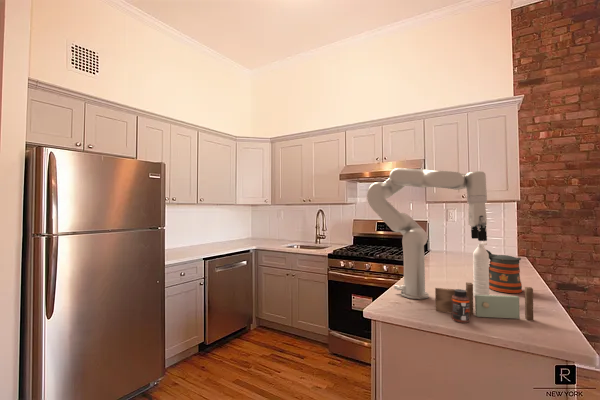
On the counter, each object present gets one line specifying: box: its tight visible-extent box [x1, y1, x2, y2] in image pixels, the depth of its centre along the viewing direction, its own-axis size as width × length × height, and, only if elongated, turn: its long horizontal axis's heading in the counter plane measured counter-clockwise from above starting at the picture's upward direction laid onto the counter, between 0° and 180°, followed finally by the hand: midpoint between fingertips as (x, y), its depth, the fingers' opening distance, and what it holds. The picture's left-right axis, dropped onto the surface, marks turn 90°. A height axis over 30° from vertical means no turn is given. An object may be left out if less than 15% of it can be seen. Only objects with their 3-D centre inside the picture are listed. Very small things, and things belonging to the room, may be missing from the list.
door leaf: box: [474, 294, 521, 319], centre depth 120 cm, size 15×3×8 cm, turn 81°
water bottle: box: [472, 242, 490, 298], centre depth 147 cm, size 9×6×25 cm
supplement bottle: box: [451, 288, 471, 324], centre depth 118 cm, size 6×6×11 cm
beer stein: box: [486, 249, 523, 295], centre depth 159 cm, size 19×15×20 cm
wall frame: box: [434, 282, 534, 322], centre depth 123 cm, size 34×3×12 cm, turn 71°
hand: (478, 239), depth 135 cm, fingers open, 9 cm apart
